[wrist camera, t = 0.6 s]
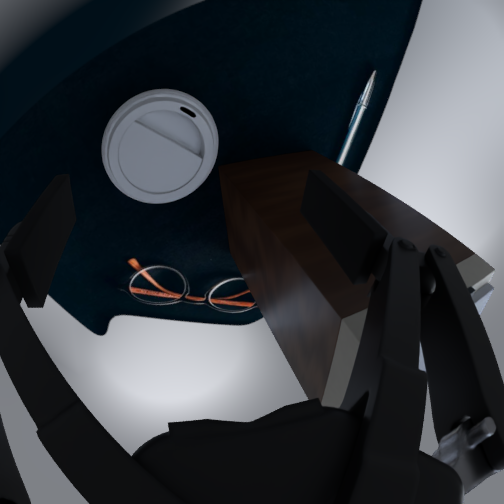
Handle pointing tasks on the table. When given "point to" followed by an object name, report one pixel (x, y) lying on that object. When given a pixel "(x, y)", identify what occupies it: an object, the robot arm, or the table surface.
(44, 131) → the table surface
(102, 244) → the table surface
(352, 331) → the scale
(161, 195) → the coffee cup
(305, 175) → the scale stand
